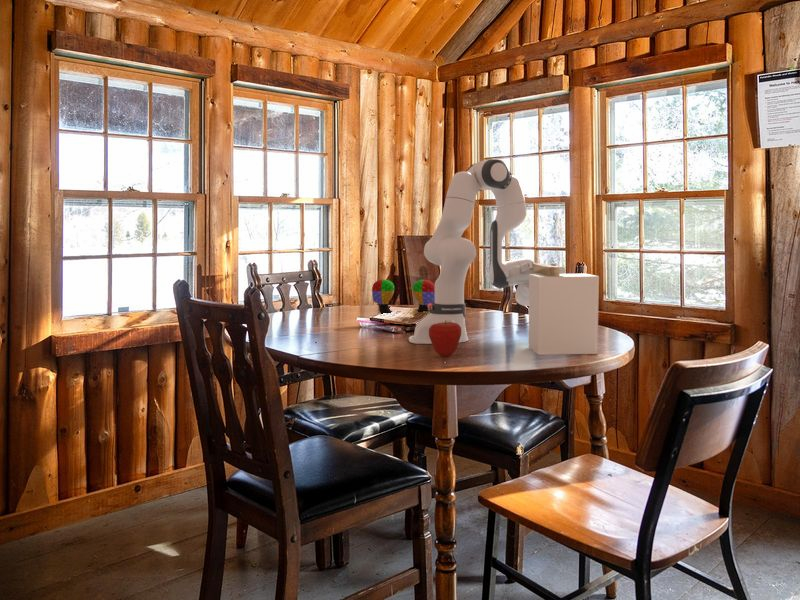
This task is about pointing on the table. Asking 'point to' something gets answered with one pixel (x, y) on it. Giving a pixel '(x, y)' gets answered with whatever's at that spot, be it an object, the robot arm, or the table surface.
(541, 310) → the white cardboard box
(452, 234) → the robot arm
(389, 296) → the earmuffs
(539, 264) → the tan rectangular block
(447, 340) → the apple
